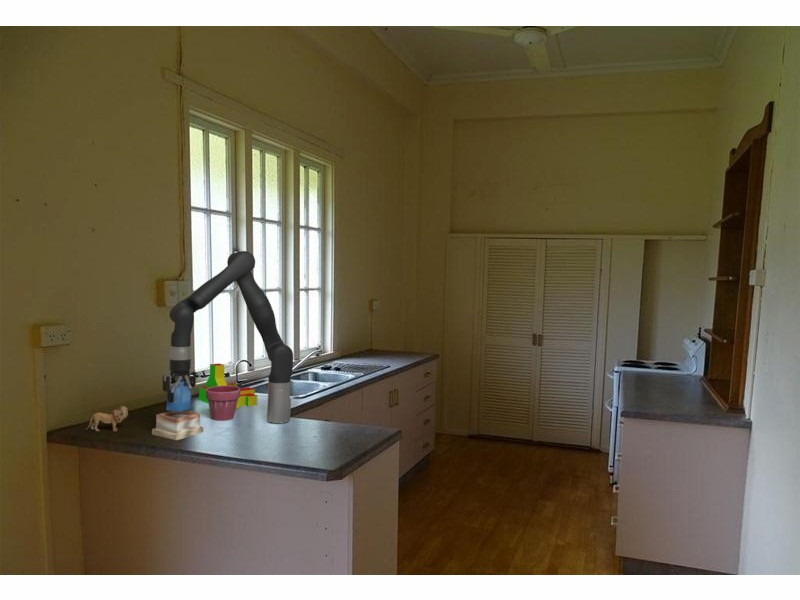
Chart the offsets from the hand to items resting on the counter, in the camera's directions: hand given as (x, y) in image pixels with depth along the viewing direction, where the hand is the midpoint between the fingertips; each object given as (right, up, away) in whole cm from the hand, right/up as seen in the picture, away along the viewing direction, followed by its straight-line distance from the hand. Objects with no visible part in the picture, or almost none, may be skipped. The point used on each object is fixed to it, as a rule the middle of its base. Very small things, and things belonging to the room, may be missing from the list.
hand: (179, 400), depth 209 cm
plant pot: (+8, -12, +25) cm, 29 cm away
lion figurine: (-28, -12, +1) cm, 30 cm away
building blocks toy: (+3, -11, +54) cm, 55 cm away
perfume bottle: (0, -4, 0) cm, 4 cm away
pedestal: (-1, -13, 0) cm, 13 cm away
